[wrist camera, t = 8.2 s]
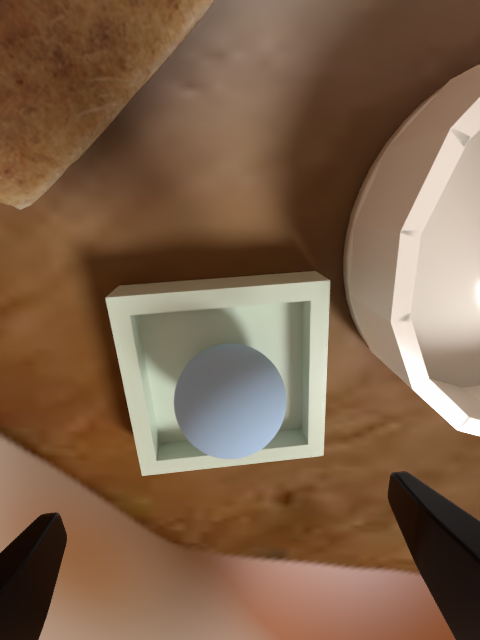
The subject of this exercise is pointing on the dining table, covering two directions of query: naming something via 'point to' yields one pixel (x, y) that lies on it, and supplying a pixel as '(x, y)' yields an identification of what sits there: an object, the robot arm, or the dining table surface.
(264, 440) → the ball
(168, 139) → the dining table surface
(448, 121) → the bowl
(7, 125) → the tan boot vase
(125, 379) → the tray
